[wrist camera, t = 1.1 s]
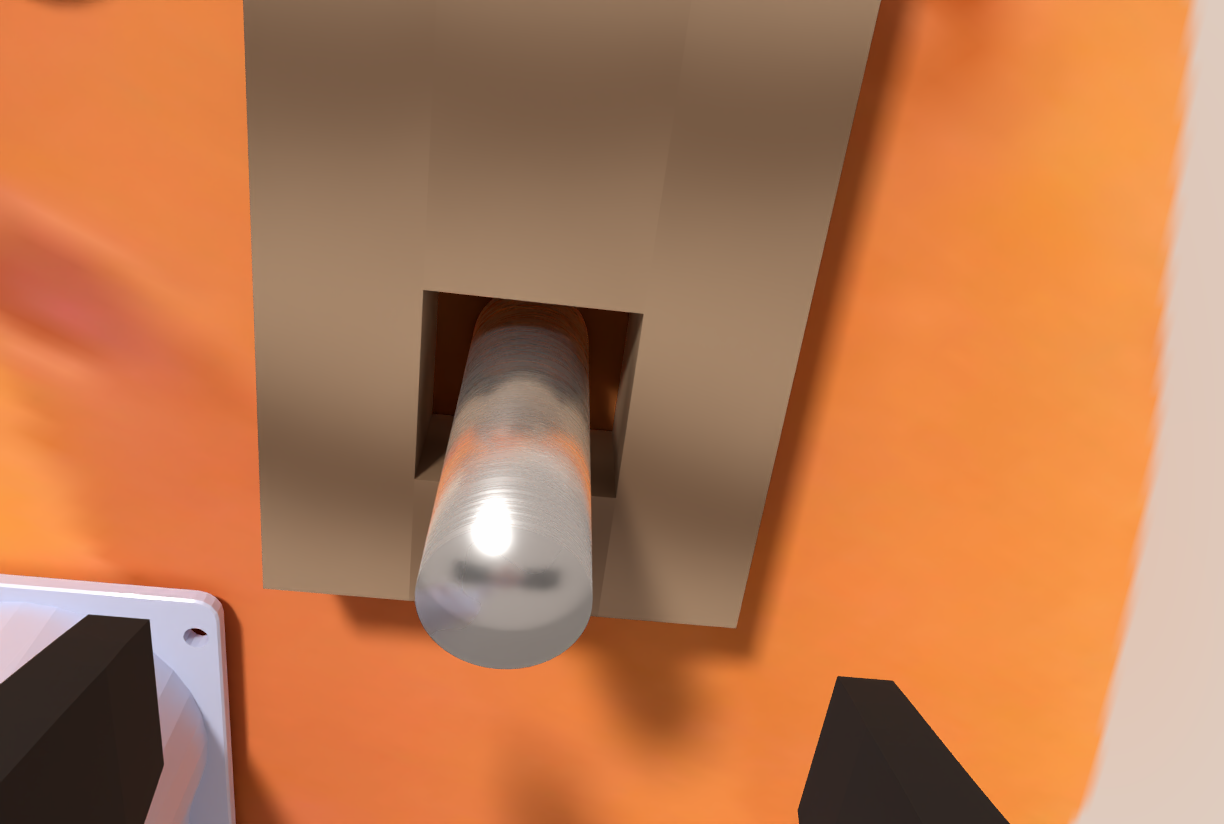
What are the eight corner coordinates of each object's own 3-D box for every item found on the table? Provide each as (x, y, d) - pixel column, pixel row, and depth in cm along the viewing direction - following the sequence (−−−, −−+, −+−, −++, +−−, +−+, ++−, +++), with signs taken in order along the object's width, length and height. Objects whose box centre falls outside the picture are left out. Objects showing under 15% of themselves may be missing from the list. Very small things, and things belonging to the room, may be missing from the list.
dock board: (720, 552, 22) (737, 635, 20) (295, 514, 22) (260, 595, 19) (951, -530, 14) (1026, -610, 12) (277, -651, 13) (211, -761, 11)
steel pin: (581, 396, 21) (582, 675, 14) (469, 384, 20) (411, 661, 13) (594, 292, 20) (602, 535, 13) (477, 279, 19) (418, 519, 12)
